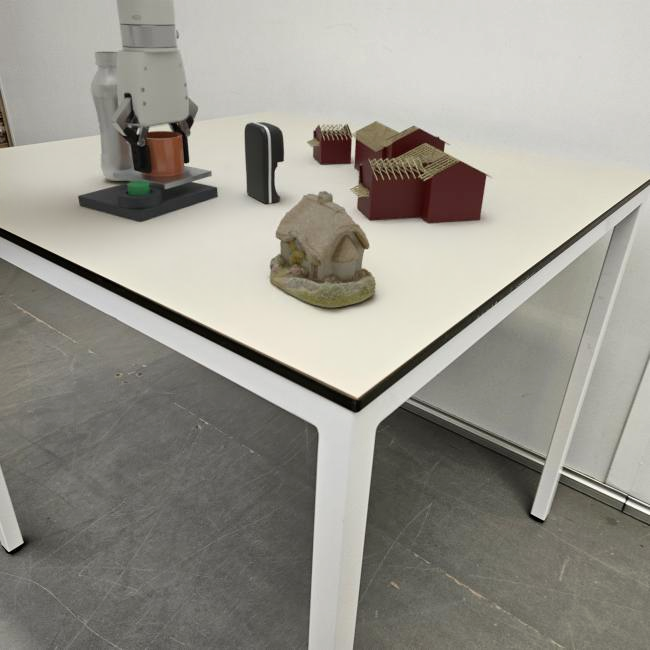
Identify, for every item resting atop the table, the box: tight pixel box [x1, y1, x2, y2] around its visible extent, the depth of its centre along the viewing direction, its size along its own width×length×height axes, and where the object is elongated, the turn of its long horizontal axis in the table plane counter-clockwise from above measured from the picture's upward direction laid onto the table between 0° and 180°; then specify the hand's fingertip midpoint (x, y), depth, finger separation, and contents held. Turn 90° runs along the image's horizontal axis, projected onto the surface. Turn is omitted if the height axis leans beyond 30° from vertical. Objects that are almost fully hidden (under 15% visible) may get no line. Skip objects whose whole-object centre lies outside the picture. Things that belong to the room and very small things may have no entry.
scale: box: [77, 181, 219, 223], centre depth 92 cm, size 16×13×3 cm
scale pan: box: [113, 165, 213, 189], centre depth 93 cm, size 10×11×1 cm
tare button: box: [127, 181, 150, 196], centre depth 85 cm, size 3×3×2 cm
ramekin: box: [141, 130, 186, 177], centre depth 92 cm, size 6×6×6 cm
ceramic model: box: [269, 190, 377, 309], centre depth 65 cm, size 14×11×10 cm
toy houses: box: [306, 120, 493, 224], centre depth 103 cm, size 45×20×10 cm, turn 14°
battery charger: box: [244, 121, 285, 204], centre depth 93 cm, size 7×4×11 cm, turn 33°
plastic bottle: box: [90, 51, 134, 182], centre depth 98 cm, size 6×7×20 cm
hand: (162, 166), depth 92 cm, fingers open, 7 cm apart
